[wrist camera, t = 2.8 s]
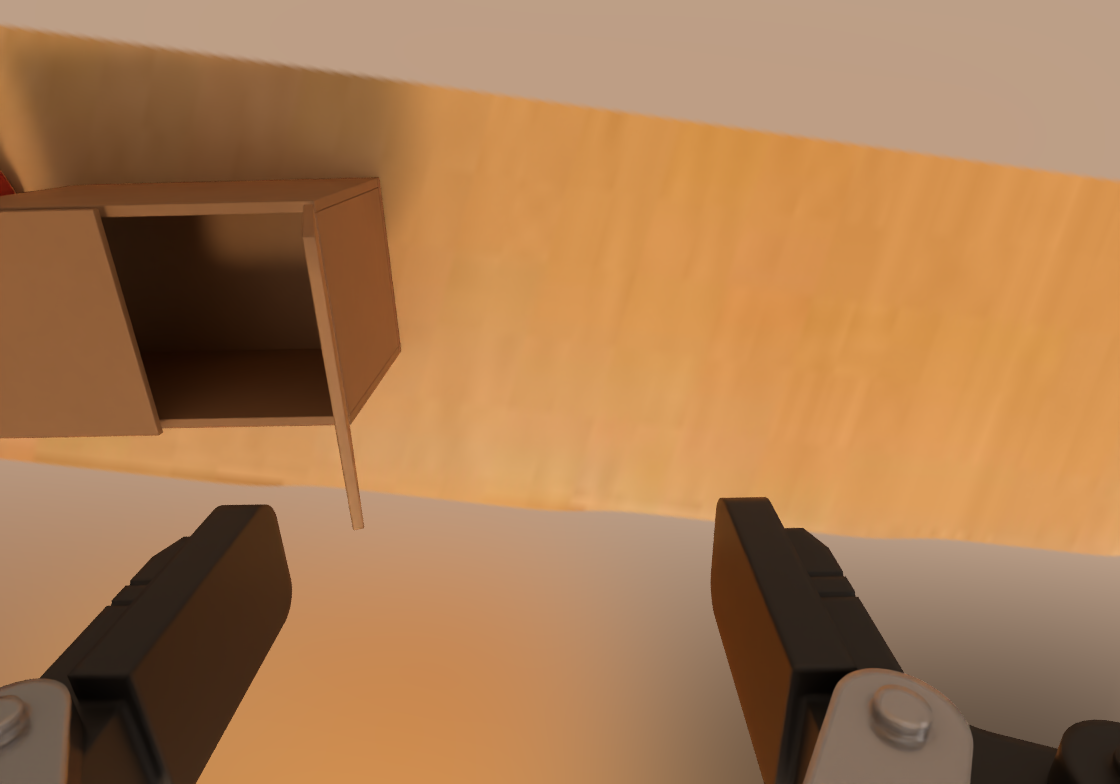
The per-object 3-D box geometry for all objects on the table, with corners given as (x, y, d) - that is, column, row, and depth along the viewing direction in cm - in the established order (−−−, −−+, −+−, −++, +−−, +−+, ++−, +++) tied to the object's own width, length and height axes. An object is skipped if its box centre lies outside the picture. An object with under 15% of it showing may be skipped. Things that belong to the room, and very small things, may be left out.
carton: (379, 177, 30) (306, 202, 21) (401, 351, 33) (344, 433, 24) (76, 184, 30) (-116, 213, 21) (127, 357, 33) (-21, 440, 25)
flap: (302, 204, 21) (312, 203, 21) (342, 432, 24) (350, 430, 24) (301, 237, 15) (315, 236, 15) (353, 530, 19) (364, 528, 19)
